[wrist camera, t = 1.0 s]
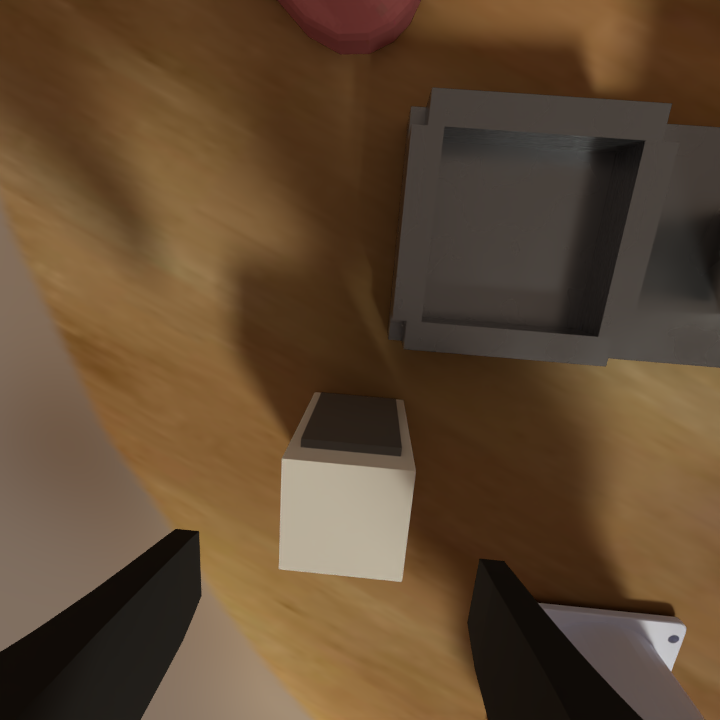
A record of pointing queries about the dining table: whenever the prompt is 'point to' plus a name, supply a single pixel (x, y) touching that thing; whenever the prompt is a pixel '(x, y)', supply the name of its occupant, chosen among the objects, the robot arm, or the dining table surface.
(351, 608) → the dining table surface
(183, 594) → the robot arm
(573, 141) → the grey socket block stand
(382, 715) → the dining table surface
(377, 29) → the popsicle
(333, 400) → the block
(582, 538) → the dining table surface
